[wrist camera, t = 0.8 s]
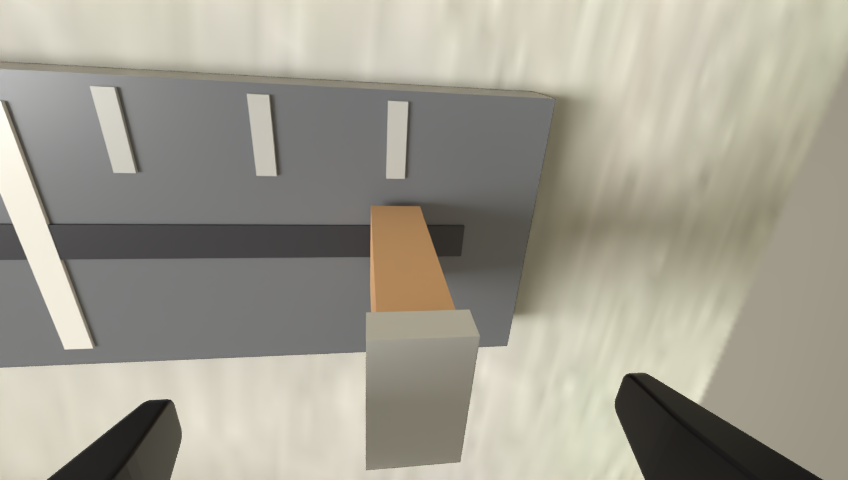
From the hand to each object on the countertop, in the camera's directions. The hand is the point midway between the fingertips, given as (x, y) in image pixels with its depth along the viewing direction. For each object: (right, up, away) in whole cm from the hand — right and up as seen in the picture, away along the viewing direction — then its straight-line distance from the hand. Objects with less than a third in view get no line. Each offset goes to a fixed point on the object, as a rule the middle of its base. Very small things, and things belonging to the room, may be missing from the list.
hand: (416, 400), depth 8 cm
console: (-7, +4, +7) cm, 11 cm away
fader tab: (-1, +3, +6) cm, 6 cm away
